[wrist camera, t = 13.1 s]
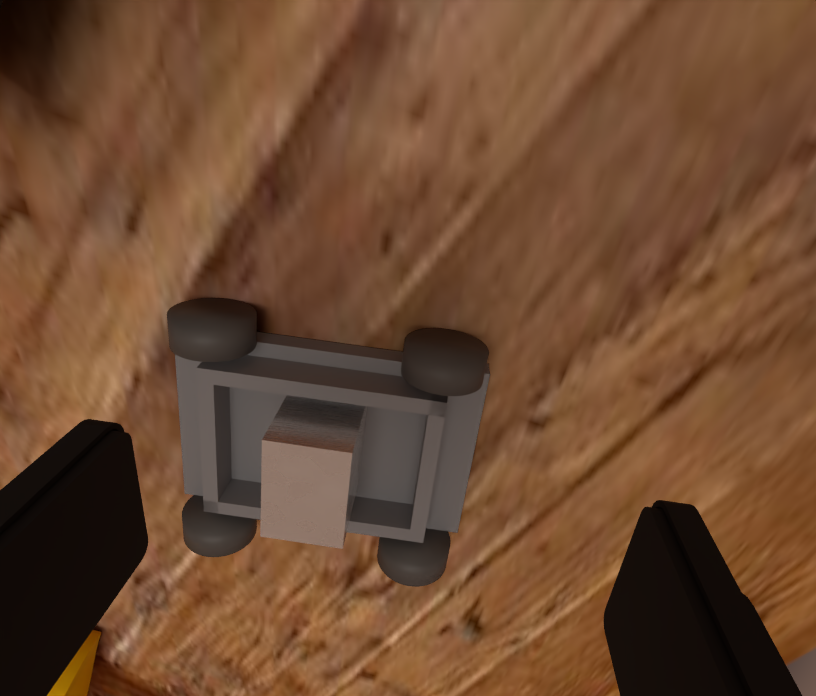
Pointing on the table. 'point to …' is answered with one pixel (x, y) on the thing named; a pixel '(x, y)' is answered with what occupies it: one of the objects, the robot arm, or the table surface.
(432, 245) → the table surface
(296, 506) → the beige block
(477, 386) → the chassis
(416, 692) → the table surface
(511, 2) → the table surface
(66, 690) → the figure statuette
